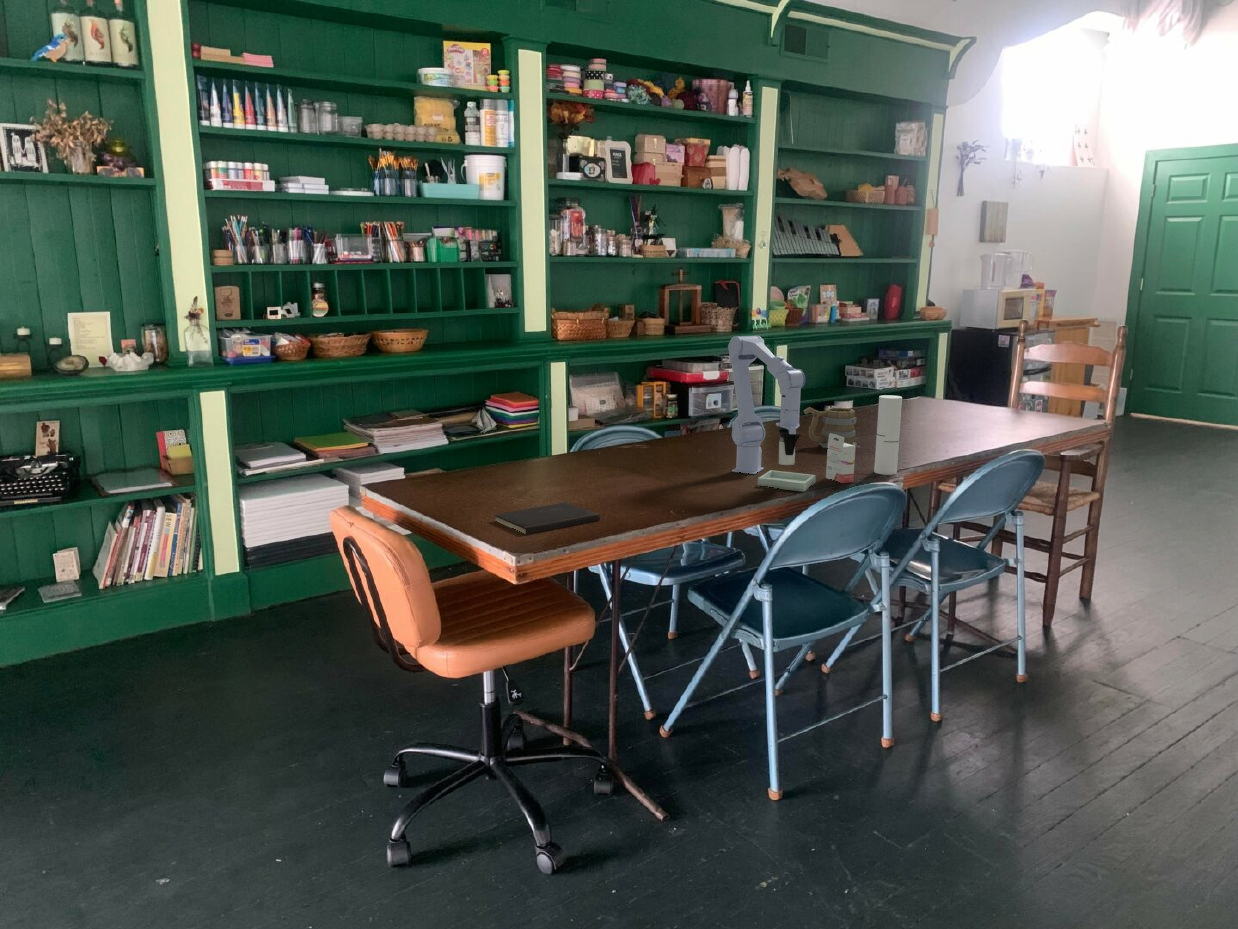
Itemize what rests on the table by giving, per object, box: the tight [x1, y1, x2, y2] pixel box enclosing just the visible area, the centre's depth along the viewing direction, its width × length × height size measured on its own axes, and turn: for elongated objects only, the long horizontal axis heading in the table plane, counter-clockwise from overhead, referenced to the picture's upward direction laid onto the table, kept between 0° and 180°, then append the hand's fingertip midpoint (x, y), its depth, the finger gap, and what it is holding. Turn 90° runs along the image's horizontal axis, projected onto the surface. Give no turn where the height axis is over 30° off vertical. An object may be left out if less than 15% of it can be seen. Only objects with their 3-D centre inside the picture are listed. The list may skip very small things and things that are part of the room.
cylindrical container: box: [873, 394, 903, 476], centre depth 305 cm, size 7×7×25 cm
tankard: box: [803, 406, 858, 449], centre depth 347 cm, size 20×13×15 cm, turn 92°
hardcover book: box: [493, 501, 601, 535], centre depth 248 cm, size 16×23×2 cm
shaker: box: [778, 436, 796, 466], centre depth 287 cm, size 5×5×8 cm
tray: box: [757, 470, 817, 493], centre depth 289 cm, size 13×15×2 cm
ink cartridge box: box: [825, 433, 856, 484], centre depth 295 cm, size 9×5×15 cm, turn 23°
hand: (788, 453), depth 287 cm, fingers closed on shaker, 5 cm apart
